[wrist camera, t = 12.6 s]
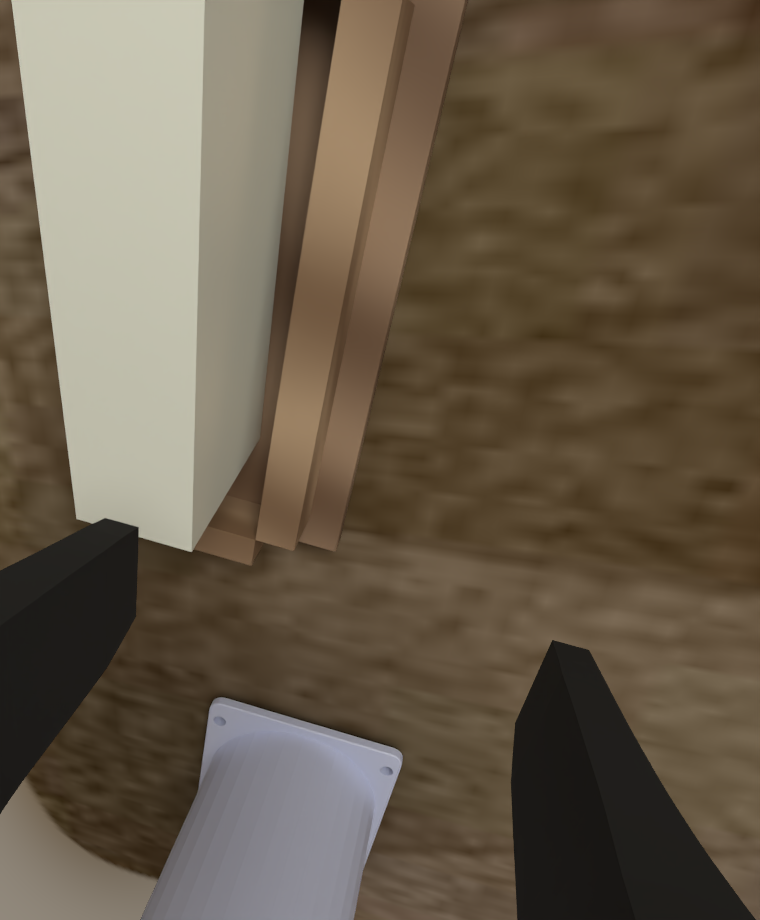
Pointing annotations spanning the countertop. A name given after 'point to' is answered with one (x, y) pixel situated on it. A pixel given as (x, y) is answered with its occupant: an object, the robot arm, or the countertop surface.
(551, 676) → the robot arm
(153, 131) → the clay strip
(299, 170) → the tray
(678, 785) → the countertop surface
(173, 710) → the countertop surface
